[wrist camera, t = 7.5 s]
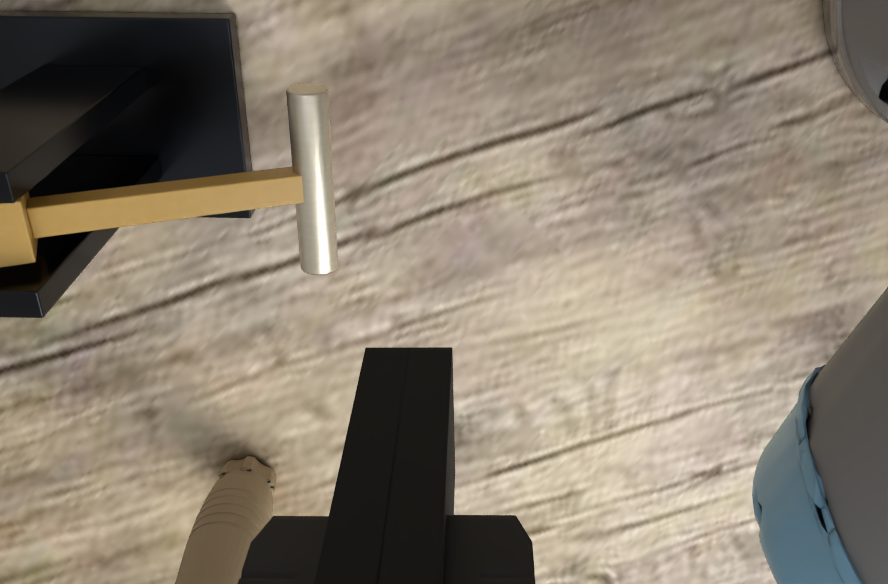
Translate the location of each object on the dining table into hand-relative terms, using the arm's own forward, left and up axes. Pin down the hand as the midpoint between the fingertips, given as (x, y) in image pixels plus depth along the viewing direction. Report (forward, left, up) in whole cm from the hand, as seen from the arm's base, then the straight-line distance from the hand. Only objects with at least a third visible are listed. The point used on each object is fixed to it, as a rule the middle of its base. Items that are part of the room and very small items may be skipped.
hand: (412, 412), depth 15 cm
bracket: (+15, +2, -25) cm, 29 cm away
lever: (+10, +2, -16) cm, 19 cm away
